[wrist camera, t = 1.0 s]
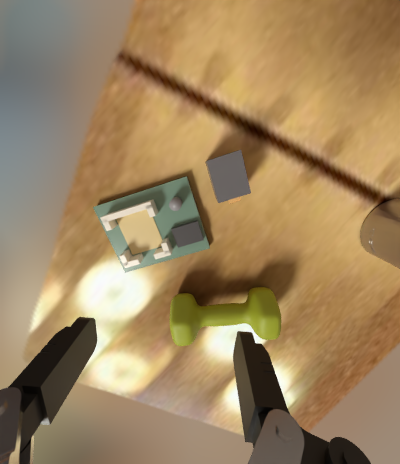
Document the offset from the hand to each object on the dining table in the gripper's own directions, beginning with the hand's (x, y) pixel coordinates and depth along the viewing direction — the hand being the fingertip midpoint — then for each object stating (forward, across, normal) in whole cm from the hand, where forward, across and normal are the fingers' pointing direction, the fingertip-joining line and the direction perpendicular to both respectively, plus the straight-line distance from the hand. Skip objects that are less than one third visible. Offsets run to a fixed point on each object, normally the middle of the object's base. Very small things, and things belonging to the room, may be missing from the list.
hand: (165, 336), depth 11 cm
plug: (+20, -4, -8) cm, 22 cm away
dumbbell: (+20, -6, +12) cm, 25 cm away
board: (+20, +5, 0) cm, 20 cm away
